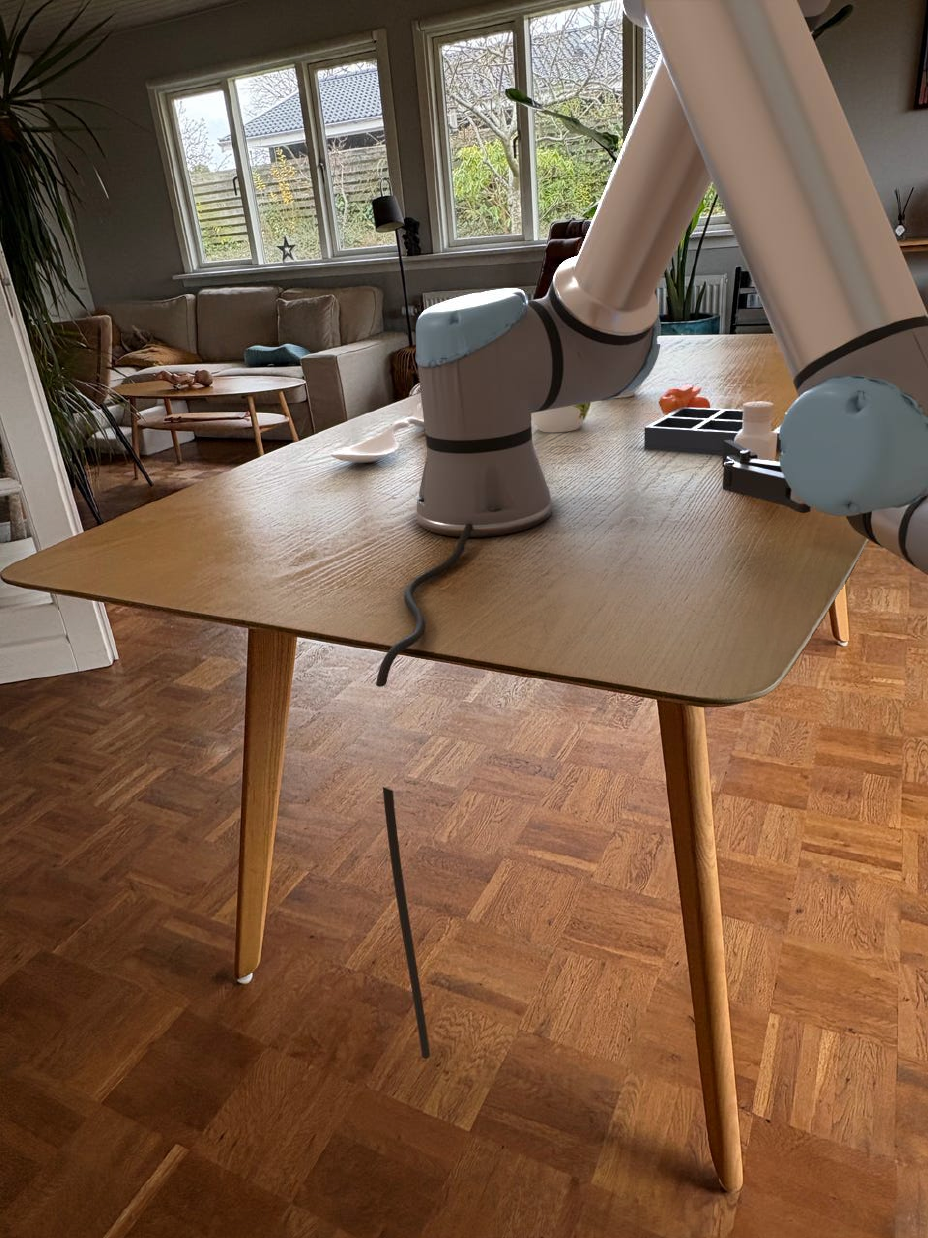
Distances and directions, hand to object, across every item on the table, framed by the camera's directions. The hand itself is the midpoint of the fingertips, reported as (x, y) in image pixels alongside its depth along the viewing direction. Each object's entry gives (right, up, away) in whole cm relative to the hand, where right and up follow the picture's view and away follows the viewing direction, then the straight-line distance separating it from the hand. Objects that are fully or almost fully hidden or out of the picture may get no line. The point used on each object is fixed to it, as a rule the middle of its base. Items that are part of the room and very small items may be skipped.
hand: (791, 446), depth 83 cm
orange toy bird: (+2, +14, +45) cm, 47 cm away
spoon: (-44, +10, +45) cm, 63 cm away
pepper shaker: (0, -3, +11) cm, 11 cm away
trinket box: (-5, +23, +66) cm, 70 cm away
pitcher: (-18, +13, +47) cm, 52 cm away
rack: (+1, +7, +31) cm, 32 cm away
